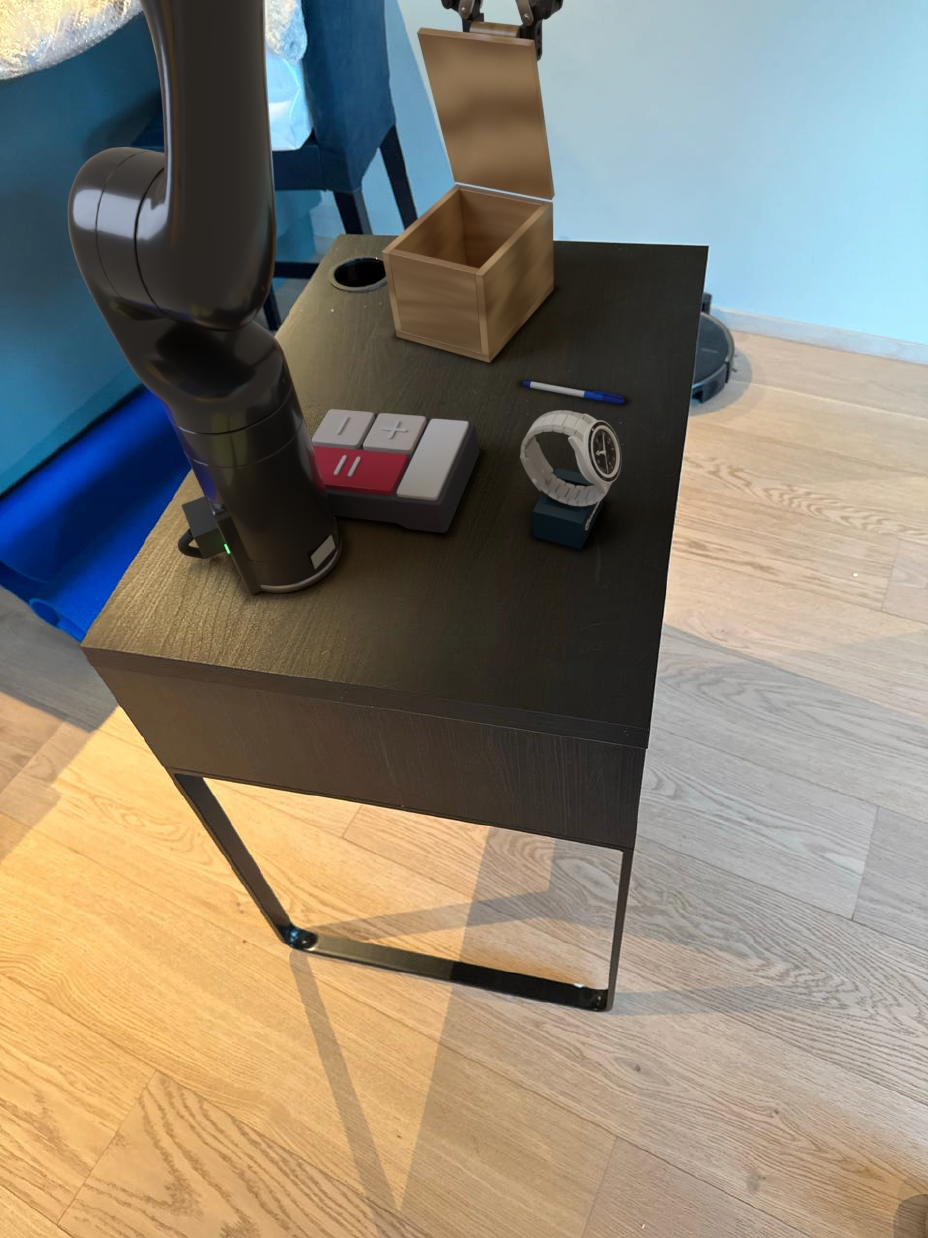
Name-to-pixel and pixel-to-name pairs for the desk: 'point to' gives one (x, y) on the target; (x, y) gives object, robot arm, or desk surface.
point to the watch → (571, 476)
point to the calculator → (395, 466)
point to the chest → (471, 270)
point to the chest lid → (490, 107)
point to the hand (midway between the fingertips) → (503, 63)
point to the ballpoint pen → (577, 392)
